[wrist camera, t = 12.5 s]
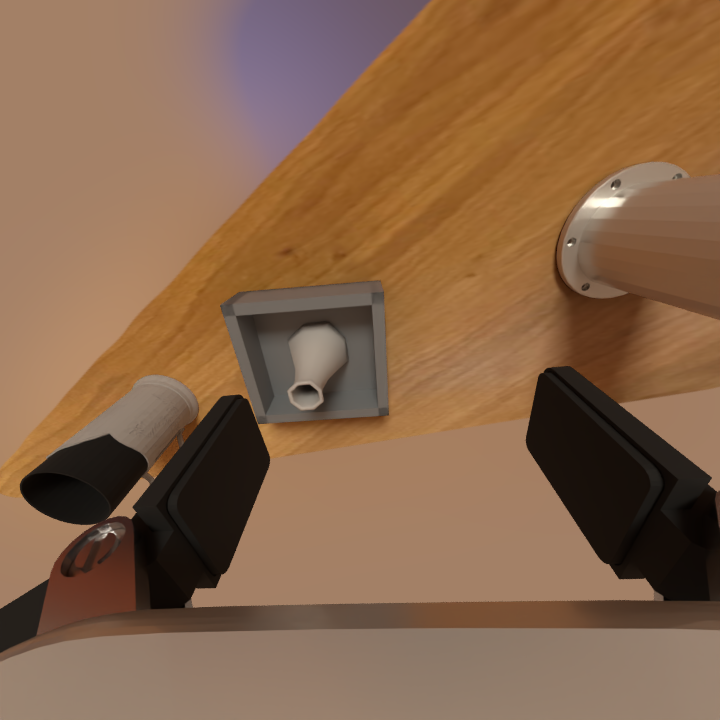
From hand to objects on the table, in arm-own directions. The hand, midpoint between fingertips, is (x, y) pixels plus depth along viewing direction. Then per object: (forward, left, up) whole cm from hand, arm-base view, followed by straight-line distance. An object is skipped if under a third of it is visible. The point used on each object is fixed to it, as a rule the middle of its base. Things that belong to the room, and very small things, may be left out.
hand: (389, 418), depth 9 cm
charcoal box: (+7, +8, -25) cm, 27 cm away
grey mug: (+28, +17, -25) cm, 41 cm away
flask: (+6, +8, -24) cm, 26 cm away
